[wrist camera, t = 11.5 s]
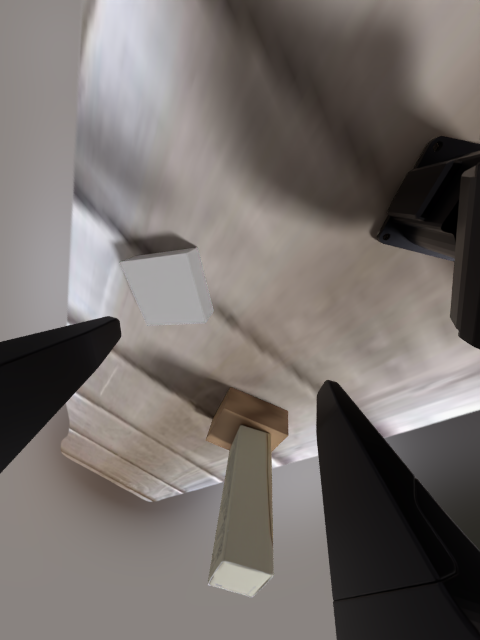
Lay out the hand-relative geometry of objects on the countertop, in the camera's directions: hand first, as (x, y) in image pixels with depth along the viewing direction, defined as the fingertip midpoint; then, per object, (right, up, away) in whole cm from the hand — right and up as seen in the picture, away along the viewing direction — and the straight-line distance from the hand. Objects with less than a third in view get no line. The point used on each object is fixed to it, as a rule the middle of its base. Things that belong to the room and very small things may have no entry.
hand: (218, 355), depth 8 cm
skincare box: (+2, -15, +19) cm, 25 cm away
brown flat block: (+2, -13, +23) cm, 27 cm away
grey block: (-6, +6, +14) cm, 16 cm away
